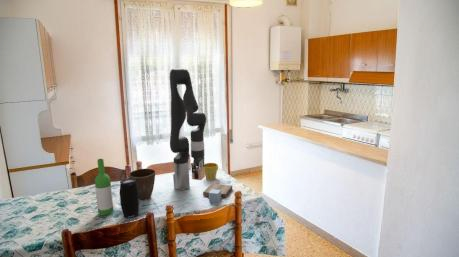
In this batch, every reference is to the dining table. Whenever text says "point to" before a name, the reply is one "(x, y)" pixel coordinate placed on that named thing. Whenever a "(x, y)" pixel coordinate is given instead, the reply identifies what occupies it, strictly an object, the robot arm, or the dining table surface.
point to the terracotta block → (199, 174)
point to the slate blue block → (214, 195)
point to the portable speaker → (129, 197)
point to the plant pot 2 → (210, 170)
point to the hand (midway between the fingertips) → (198, 177)
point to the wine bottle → (103, 190)
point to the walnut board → (224, 189)
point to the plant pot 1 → (144, 182)
